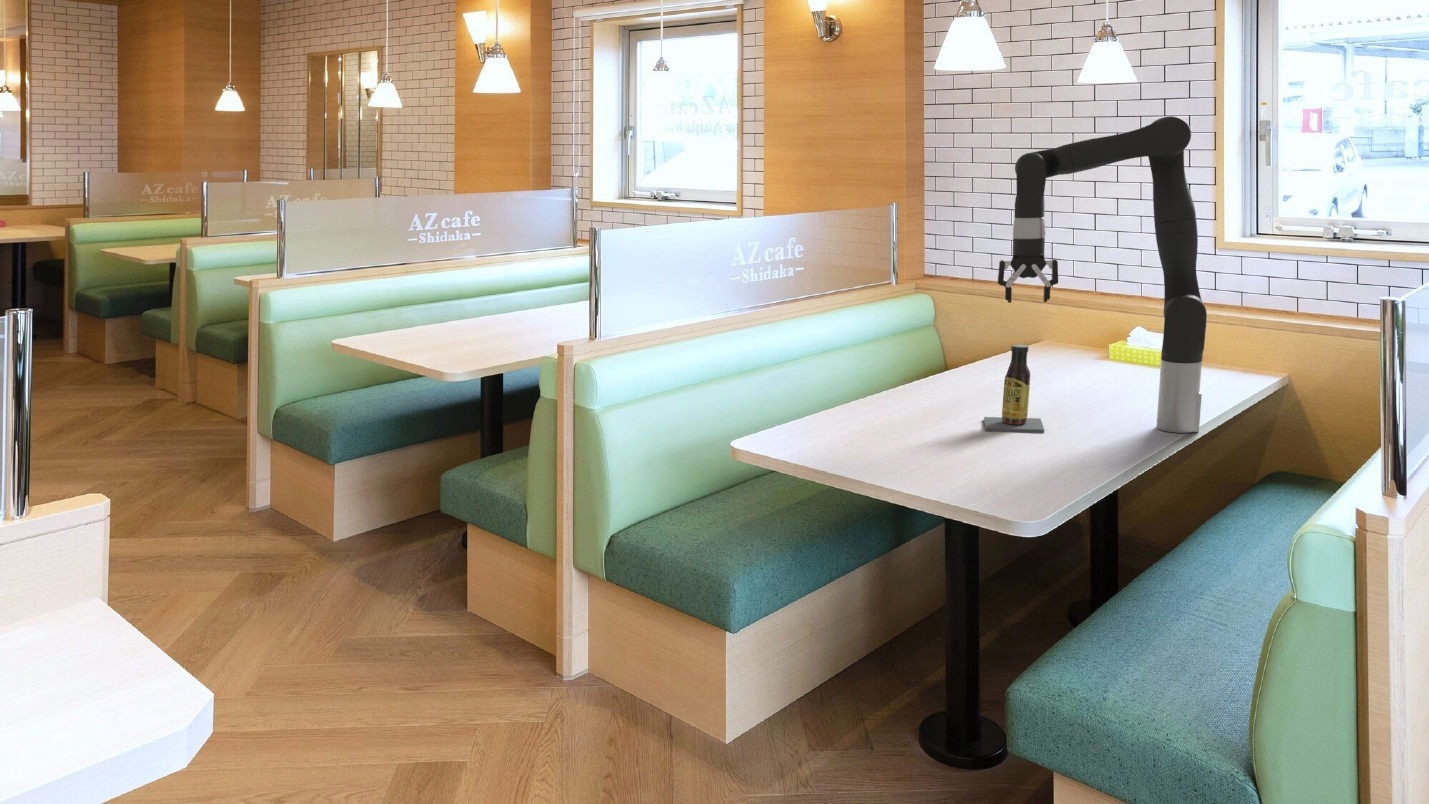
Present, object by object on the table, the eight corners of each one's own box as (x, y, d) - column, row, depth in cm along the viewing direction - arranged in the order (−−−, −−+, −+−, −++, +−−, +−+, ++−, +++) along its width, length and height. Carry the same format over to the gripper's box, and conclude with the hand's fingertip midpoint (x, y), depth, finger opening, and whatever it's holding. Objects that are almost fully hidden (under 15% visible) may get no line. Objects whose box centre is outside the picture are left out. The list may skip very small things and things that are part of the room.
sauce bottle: (996, 422, 276) (999, 345, 272) (1012, 418, 280) (1015, 342, 276) (1017, 427, 271) (1021, 348, 267) (1033, 423, 275) (1036, 345, 271)
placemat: (1040, 421, 280) (1040, 418, 280) (1044, 432, 269) (1044, 429, 269) (984, 419, 283) (984, 416, 283) (985, 431, 272) (985, 427, 272)
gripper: (1057, 234, 270) (1055, 300, 274) (998, 235, 273) (996, 300, 276) (1060, 236, 263) (1058, 303, 266) (999, 237, 266) (998, 304, 269)
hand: (1027, 302), depth 271 cm, fingers open, 8 cm apart
